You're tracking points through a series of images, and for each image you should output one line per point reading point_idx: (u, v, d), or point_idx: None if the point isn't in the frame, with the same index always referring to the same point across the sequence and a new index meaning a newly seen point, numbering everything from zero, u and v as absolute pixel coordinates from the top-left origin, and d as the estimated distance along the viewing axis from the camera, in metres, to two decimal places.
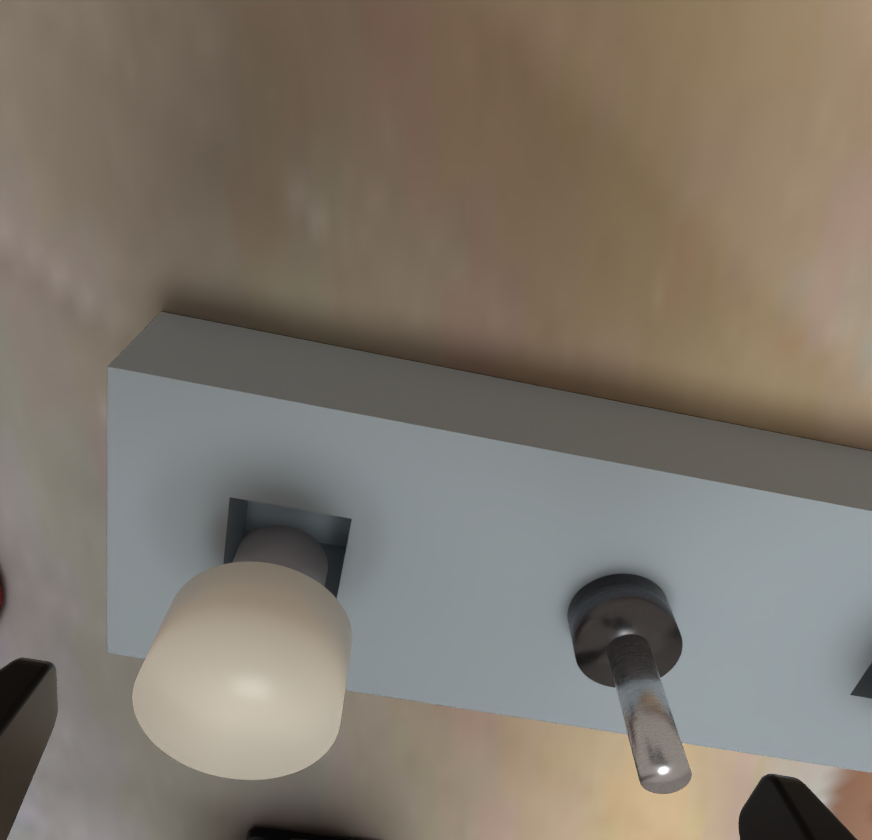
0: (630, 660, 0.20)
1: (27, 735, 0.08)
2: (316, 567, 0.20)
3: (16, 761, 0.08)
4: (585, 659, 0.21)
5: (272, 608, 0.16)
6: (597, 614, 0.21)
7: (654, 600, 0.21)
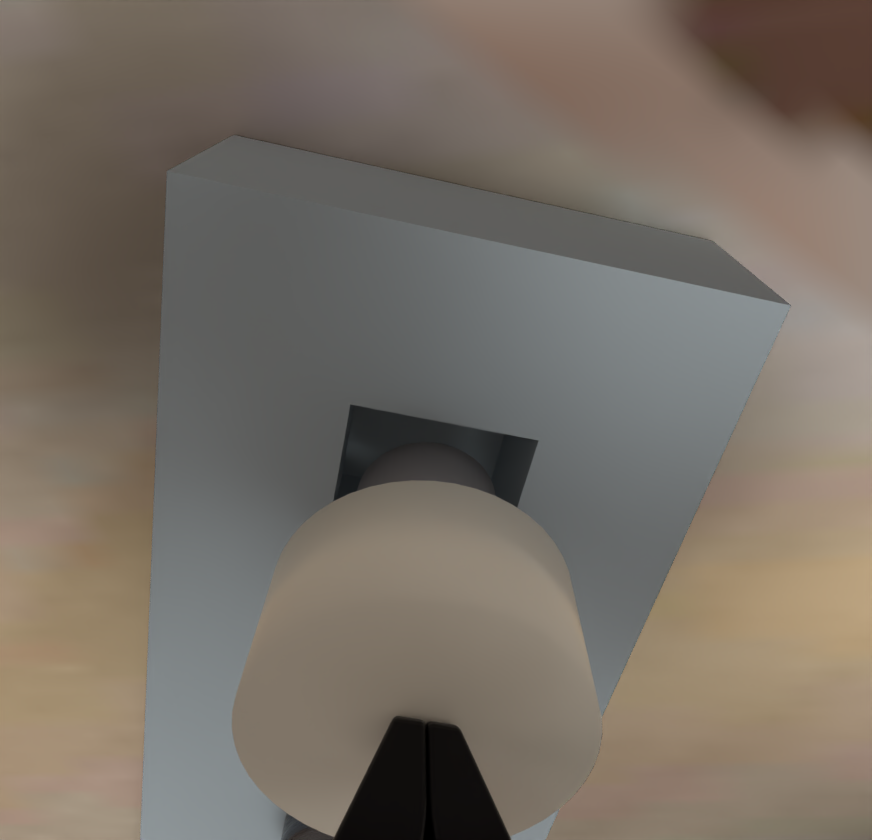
0: None
1: None
2: None
3: None
4: None
5: None
6: None
7: None
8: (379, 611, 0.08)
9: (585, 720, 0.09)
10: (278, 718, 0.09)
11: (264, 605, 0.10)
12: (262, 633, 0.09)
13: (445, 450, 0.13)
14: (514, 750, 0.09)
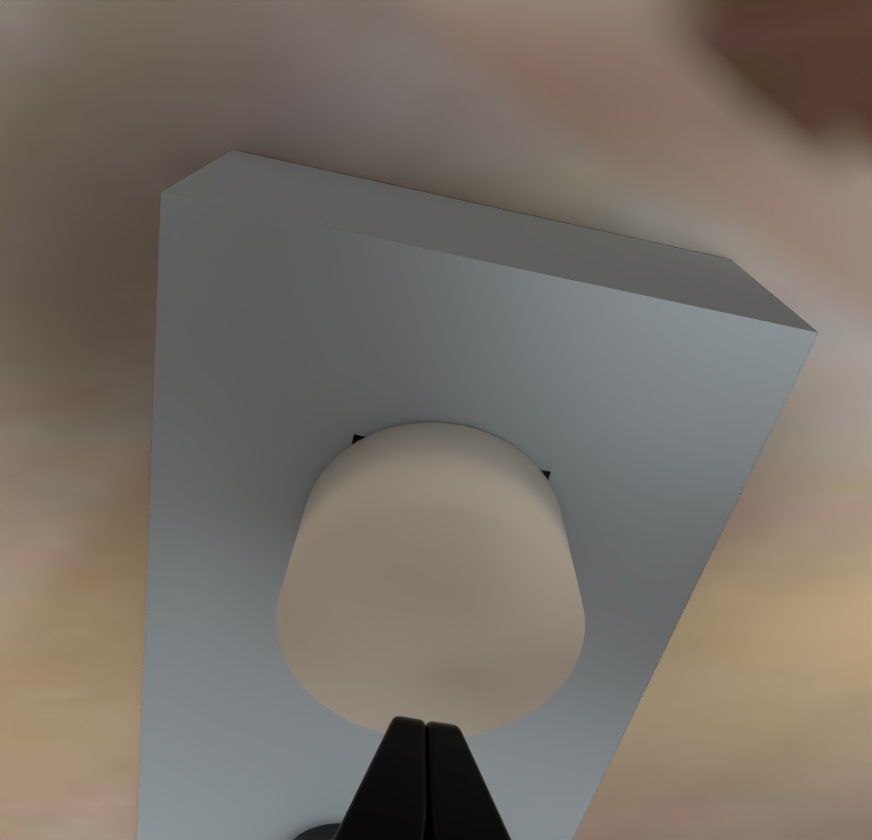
0: None
1: None
2: None
3: None
4: None
5: None
6: None
7: None
8: (400, 518, 0.10)
9: (570, 616, 0.11)
10: (314, 614, 0.11)
11: (300, 527, 0.12)
12: (301, 543, 0.11)
13: None
14: (511, 643, 0.11)
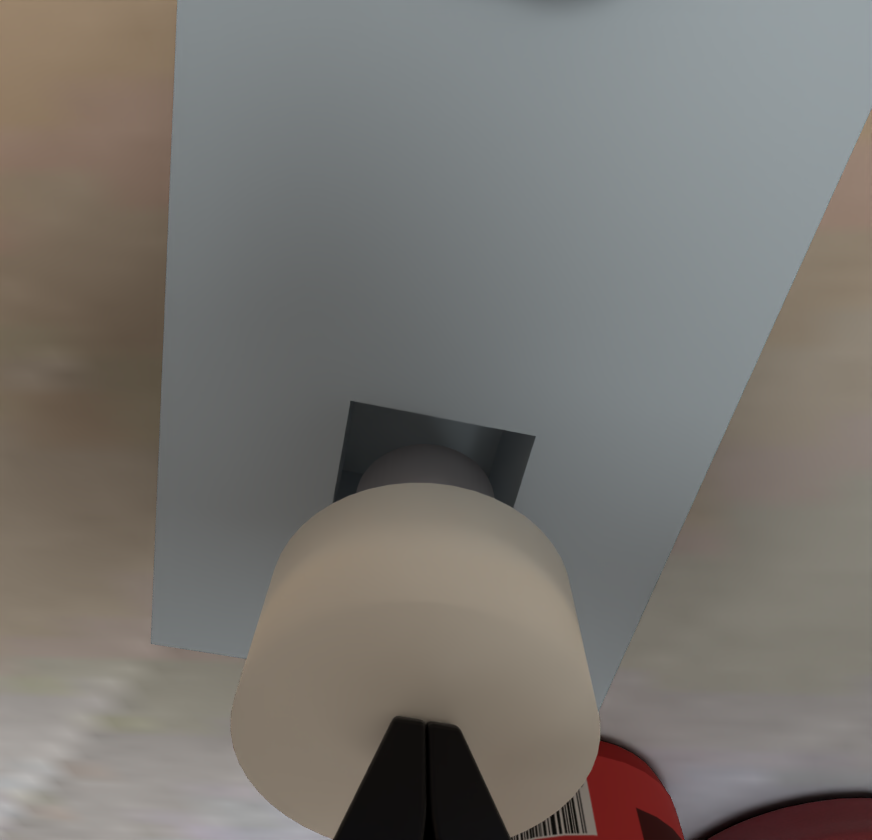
0: None
1: None
2: (387, 479, 0.13)
3: None
4: None
5: (255, 635, 0.10)
6: None
7: None
8: None
9: None
10: None
11: None
12: None
13: None
14: None
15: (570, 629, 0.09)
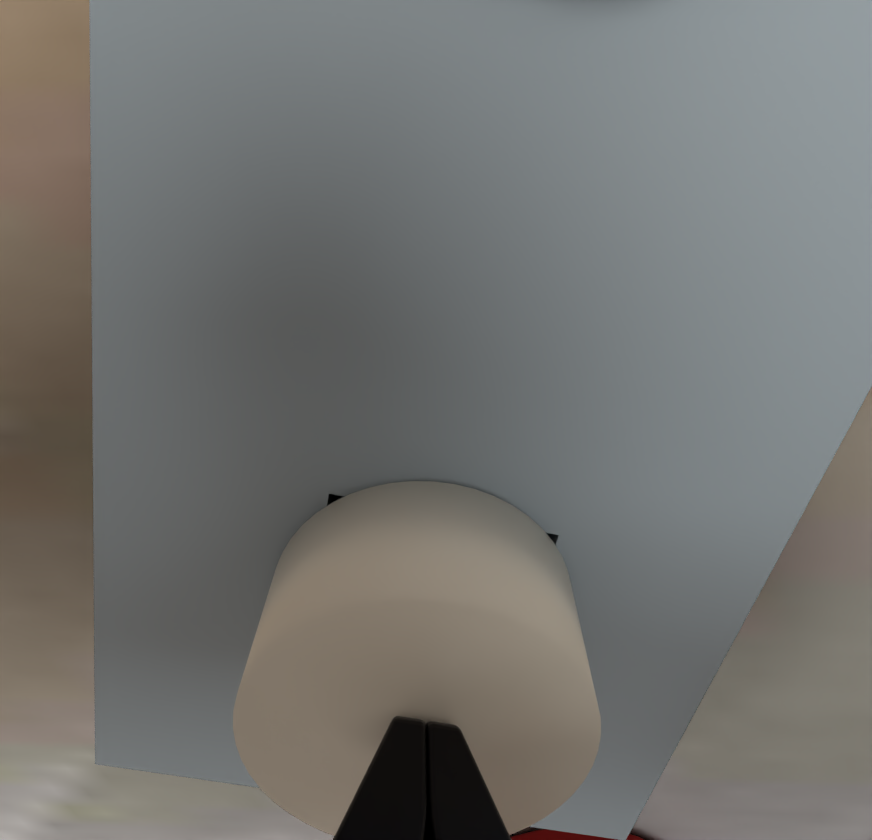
0: None
1: None
2: None
3: None
4: None
5: (257, 633, 0.10)
6: None
7: None
8: None
9: None
10: None
11: None
12: None
13: None
14: None
15: (571, 626, 0.09)
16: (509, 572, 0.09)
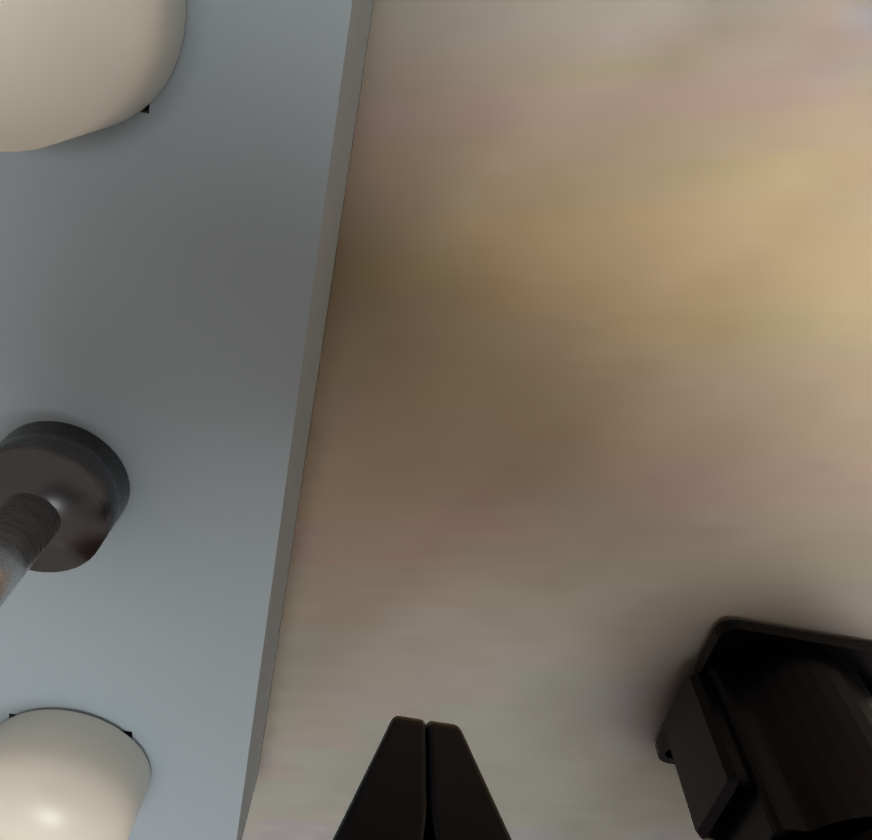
0: None
1: None
2: None
3: None
4: (64, 559, 0.16)
5: None
6: None
7: None
8: None
9: None
10: None
11: None
12: None
13: None
14: None
15: (104, 791, 0.20)
16: (69, 767, 0.19)
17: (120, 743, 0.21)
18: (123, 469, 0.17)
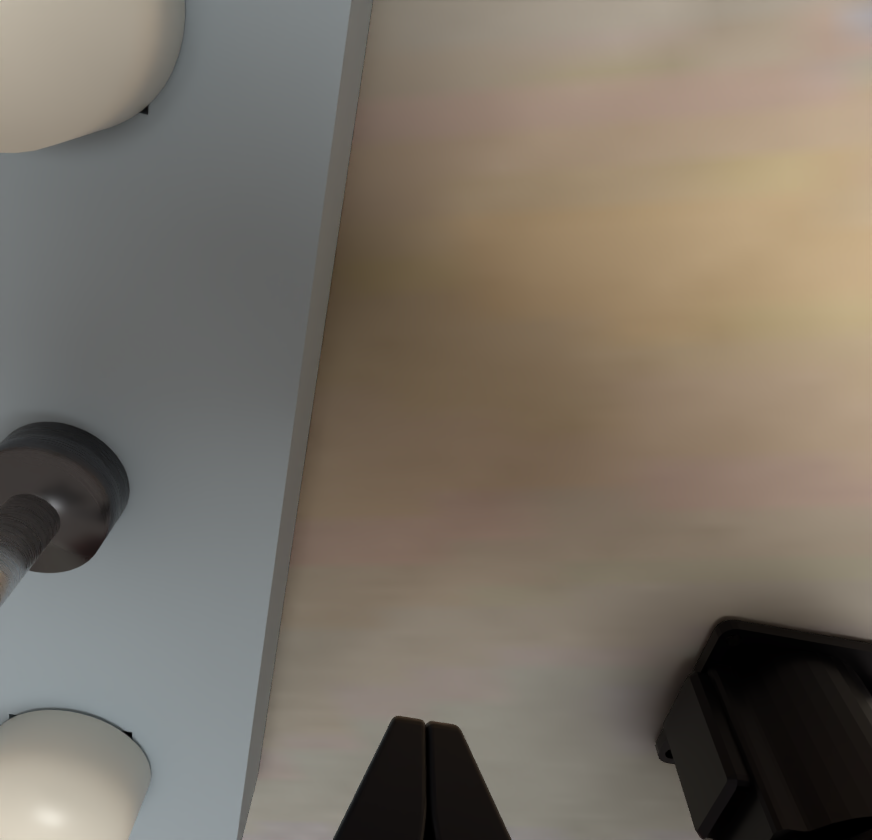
0: None
1: None
2: None
3: None
4: (64, 560, 0.16)
5: None
6: None
7: None
8: None
9: None
10: None
11: None
12: None
13: None
14: None
15: (104, 792, 0.20)
16: (69, 768, 0.19)
17: (120, 744, 0.21)
18: (123, 470, 0.17)
